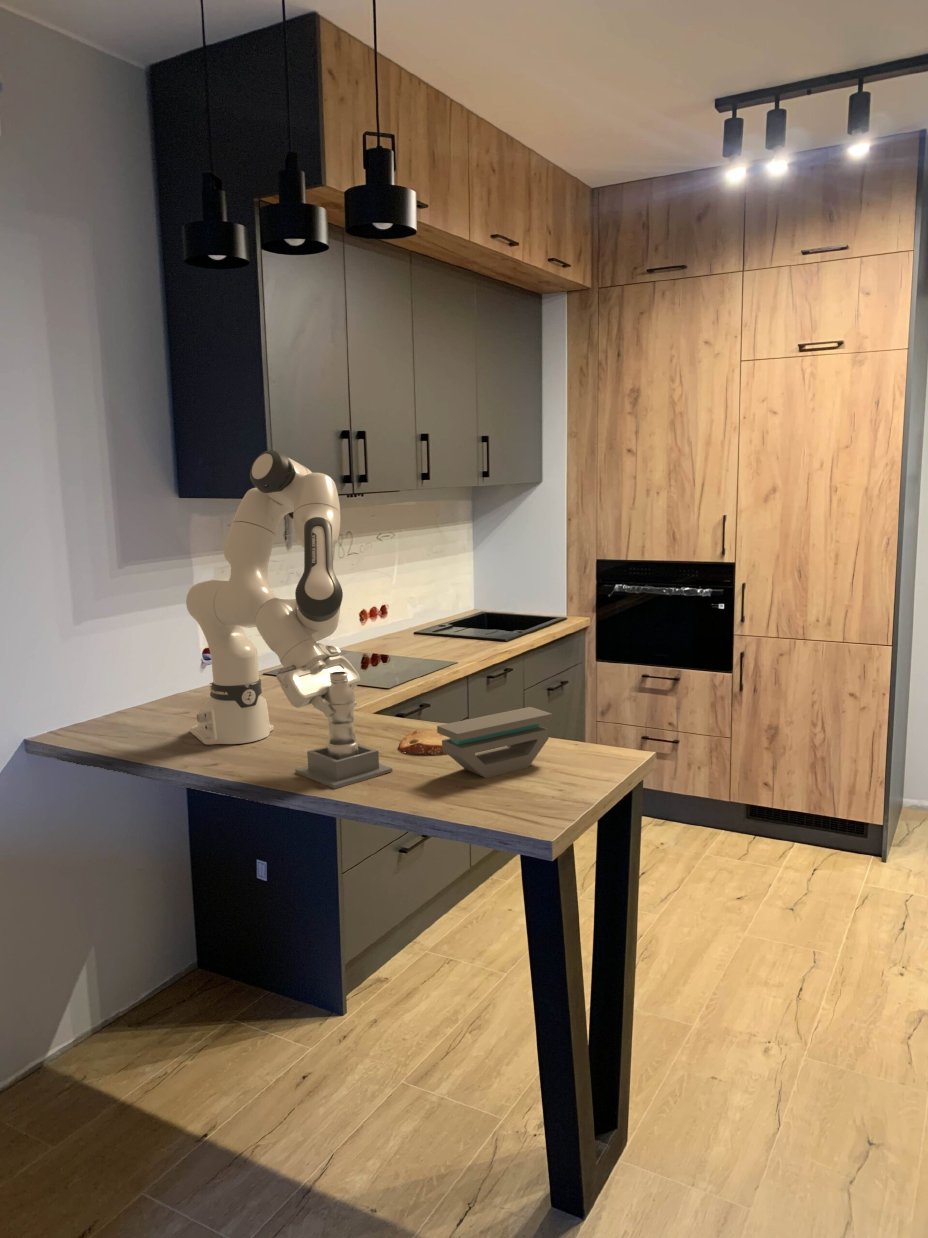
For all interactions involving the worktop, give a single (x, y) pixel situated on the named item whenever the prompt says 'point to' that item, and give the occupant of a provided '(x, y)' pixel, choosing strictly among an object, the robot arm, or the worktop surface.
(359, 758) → the holder
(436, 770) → the worktop surface
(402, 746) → the slice of bread
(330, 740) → the plastic bottle
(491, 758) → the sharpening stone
